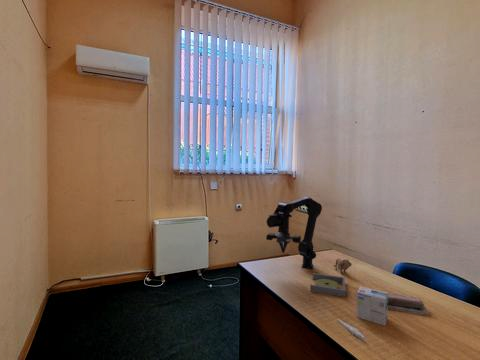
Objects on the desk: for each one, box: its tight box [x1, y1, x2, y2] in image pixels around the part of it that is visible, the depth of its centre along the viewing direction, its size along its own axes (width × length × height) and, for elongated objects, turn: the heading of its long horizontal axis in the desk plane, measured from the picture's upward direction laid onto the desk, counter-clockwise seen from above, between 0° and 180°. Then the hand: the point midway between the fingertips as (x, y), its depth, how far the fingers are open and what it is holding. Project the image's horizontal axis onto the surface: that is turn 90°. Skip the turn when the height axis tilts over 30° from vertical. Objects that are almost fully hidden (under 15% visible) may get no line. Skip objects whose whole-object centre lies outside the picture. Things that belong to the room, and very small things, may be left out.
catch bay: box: [309, 272, 346, 298], centre depth 136 cm, size 16×16×3 cm
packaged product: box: [387, 292, 430, 317], centre depth 118 cm, size 18×5×10 cm
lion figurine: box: [333, 258, 353, 275], centre depth 156 cm, size 15×5×9 cm, turn 14°
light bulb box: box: [355, 286, 389, 326], centre depth 109 cm, size 11×7×11 cm, turn 56°
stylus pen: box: [336, 318, 366, 342], centre depth 101 cm, size 15×3×2 cm, turn 20°
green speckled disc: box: [315, 279, 340, 289], centre depth 136 cm, size 11×11×2 cm
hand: (283, 252), depth 152 cm, fingers closed
